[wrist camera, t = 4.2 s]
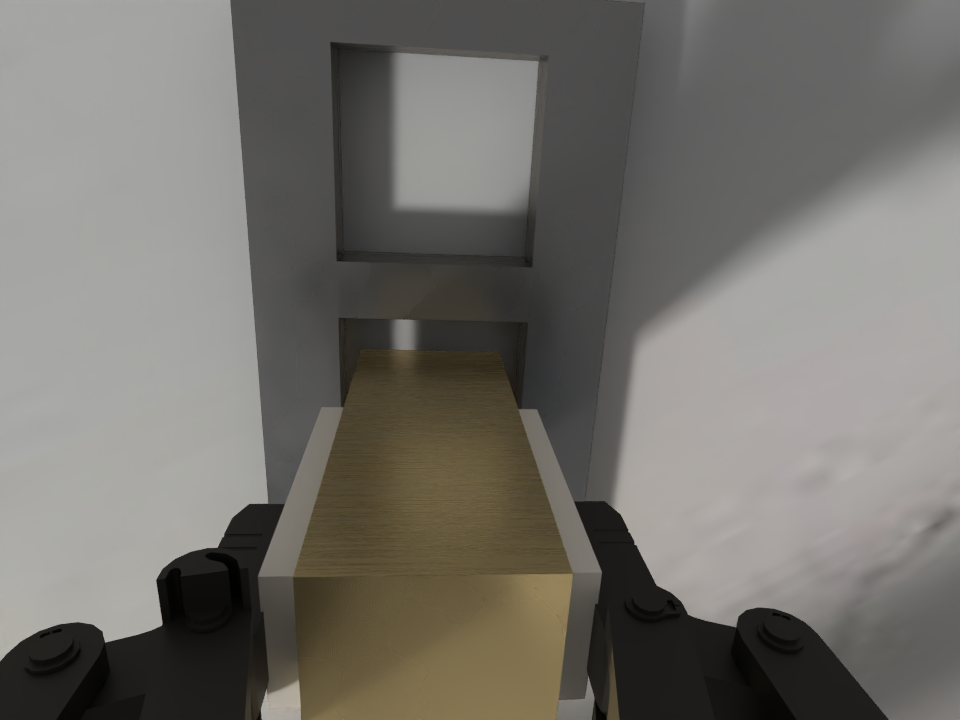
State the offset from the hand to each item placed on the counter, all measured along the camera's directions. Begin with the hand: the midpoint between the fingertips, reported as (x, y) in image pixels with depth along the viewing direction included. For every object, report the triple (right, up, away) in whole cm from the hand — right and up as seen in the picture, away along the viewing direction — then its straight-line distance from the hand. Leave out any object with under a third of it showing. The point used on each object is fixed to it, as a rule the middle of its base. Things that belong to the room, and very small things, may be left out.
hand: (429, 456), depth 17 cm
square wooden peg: (0, +1, +3) cm, 3 cm away
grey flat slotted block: (0, +2, +4) cm, 4 cm away
